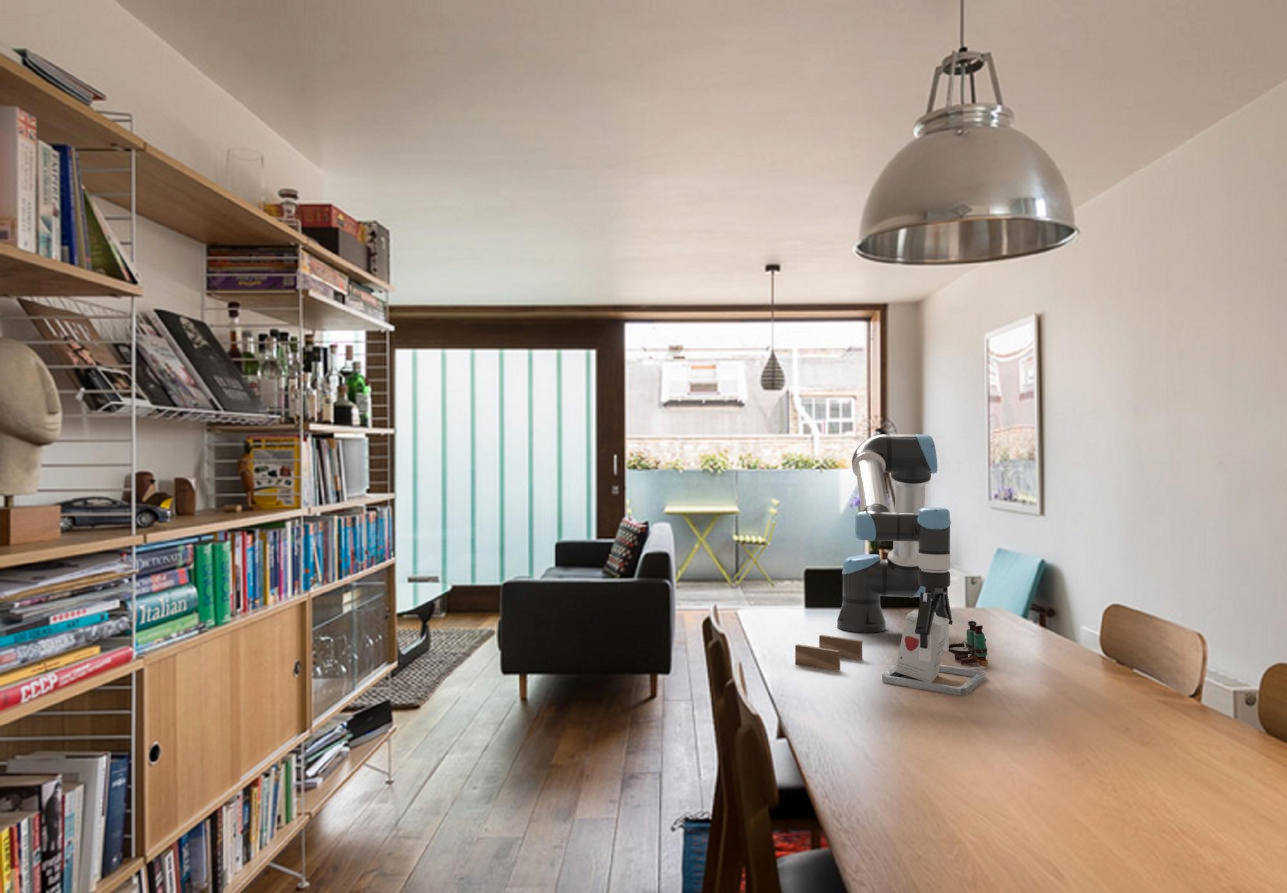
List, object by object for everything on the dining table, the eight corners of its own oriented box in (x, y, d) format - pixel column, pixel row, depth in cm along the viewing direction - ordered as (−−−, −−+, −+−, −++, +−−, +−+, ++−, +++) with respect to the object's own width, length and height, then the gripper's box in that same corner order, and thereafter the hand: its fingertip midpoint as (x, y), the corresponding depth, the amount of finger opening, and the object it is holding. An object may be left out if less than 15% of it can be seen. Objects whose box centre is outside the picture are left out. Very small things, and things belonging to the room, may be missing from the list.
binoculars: (941, 622, 228) (977, 619, 228) (945, 661, 228) (981, 657, 228) (952, 629, 219) (990, 625, 219) (957, 669, 219) (995, 665, 219)
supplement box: (893, 672, 207) (904, 614, 205) (903, 664, 214) (913, 608, 213) (930, 684, 202) (942, 624, 201) (939, 675, 210) (950, 618, 208)
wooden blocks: (821, 652, 234) (821, 634, 234) (862, 658, 227) (862, 640, 227) (795, 664, 221) (795, 645, 221) (837, 671, 214) (837, 651, 214)
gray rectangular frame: (908, 665, 220) (908, 659, 220) (988, 677, 208) (988, 671, 208) (879, 682, 204) (879, 675, 204) (964, 696, 192) (964, 690, 192)
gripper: (935, 563, 218) (935, 643, 218) (901, 574, 198) (901, 663, 198) (964, 565, 214) (964, 647, 214) (932, 577, 194) (933, 668, 194)
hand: (934, 655), depth 206 cm, fingers open, 13 cm apart
